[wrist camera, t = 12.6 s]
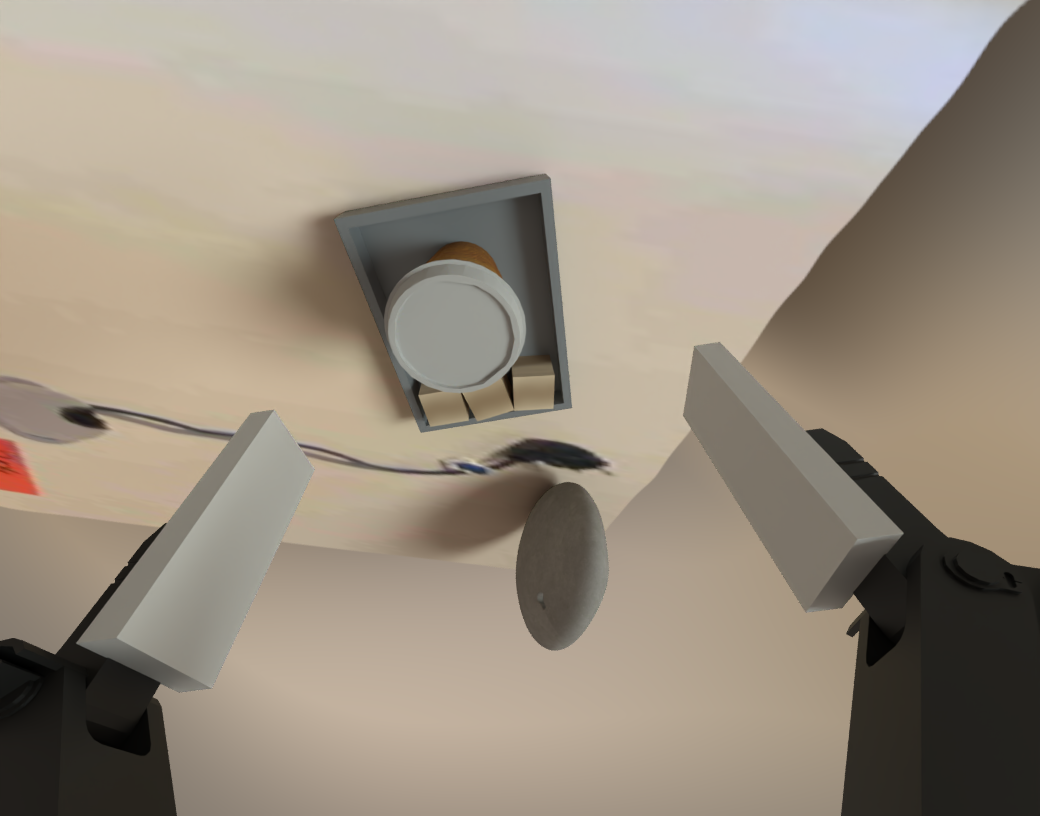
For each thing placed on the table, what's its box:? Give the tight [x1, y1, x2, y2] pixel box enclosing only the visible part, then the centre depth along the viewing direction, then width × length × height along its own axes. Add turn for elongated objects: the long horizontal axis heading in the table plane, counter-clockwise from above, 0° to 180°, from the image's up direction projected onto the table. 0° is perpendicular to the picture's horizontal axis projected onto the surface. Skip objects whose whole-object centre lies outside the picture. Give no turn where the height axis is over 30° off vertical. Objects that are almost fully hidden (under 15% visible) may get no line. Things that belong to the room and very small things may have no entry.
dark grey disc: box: [516, 482, 609, 650], centre depth 48 cm, size 18×7×19 cm, turn 156°
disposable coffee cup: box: [384, 241, 526, 393], centre depth 30 cm, size 10×10×12 cm
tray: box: [334, 174, 572, 433], centre depth 37 cm, size 22×17×3 cm
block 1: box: [418, 383, 469, 427], centre depth 40 cm, size 4×4×4 cm
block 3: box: [511, 355, 555, 411], centre depth 40 cm, size 4×4×4 cm
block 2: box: [463, 374, 514, 422], centre depth 40 cm, size 4×4×4 cm
